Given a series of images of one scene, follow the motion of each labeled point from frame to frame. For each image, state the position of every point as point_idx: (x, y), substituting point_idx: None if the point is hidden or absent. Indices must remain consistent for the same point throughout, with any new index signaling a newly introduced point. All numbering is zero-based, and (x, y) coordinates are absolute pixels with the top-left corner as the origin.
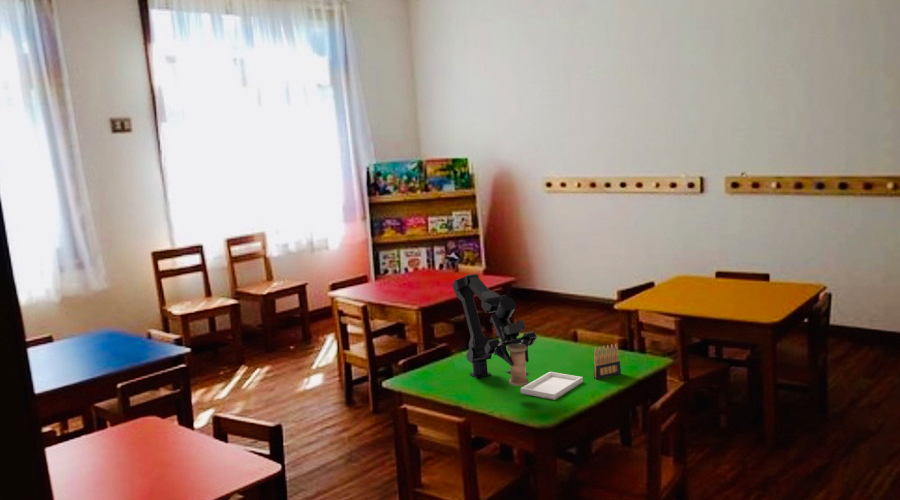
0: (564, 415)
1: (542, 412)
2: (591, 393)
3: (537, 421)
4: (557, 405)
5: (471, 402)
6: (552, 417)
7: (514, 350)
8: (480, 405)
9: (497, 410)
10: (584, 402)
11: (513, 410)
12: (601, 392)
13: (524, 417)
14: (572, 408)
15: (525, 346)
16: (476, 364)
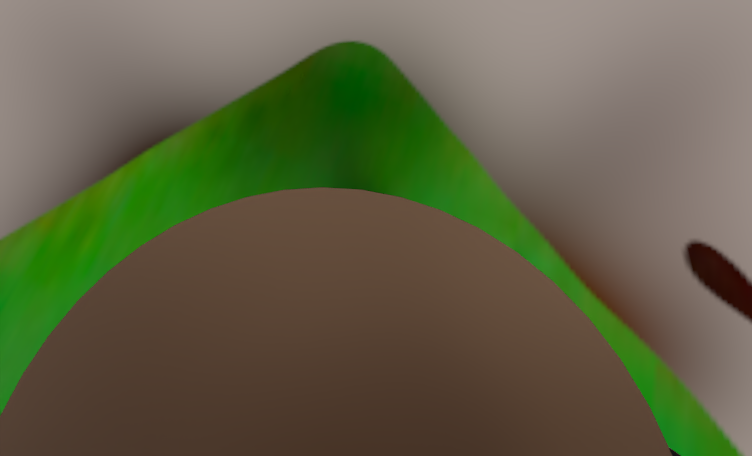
0: (274, 78)
1: (342, 134)
2: (69, 259)
3: (390, 59)
4: (257, 183)
5: (645, 390)
6: (323, 75)
7: (478, 234)
8: (599, 324)
9: (524, 226)
10: (146, 173)
11: (452, 198)
12: (28, 253)
13: (427, 110)
14: (217, 131)
15: (34, 446)
16: None
